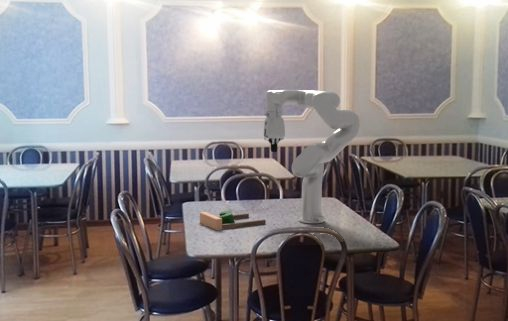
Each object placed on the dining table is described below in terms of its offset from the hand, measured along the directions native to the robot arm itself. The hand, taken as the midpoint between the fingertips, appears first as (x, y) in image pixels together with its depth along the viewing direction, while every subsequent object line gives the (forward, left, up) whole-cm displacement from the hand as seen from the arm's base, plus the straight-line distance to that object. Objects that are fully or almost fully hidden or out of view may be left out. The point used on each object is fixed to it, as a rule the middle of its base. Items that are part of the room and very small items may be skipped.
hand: (273, 151), depth 306 cm
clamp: (-8, +30, -32) cm, 45 cm away
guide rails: (-8, +26, -32) cm, 42 cm away
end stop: (-8, +39, -32) cm, 51 cm away
